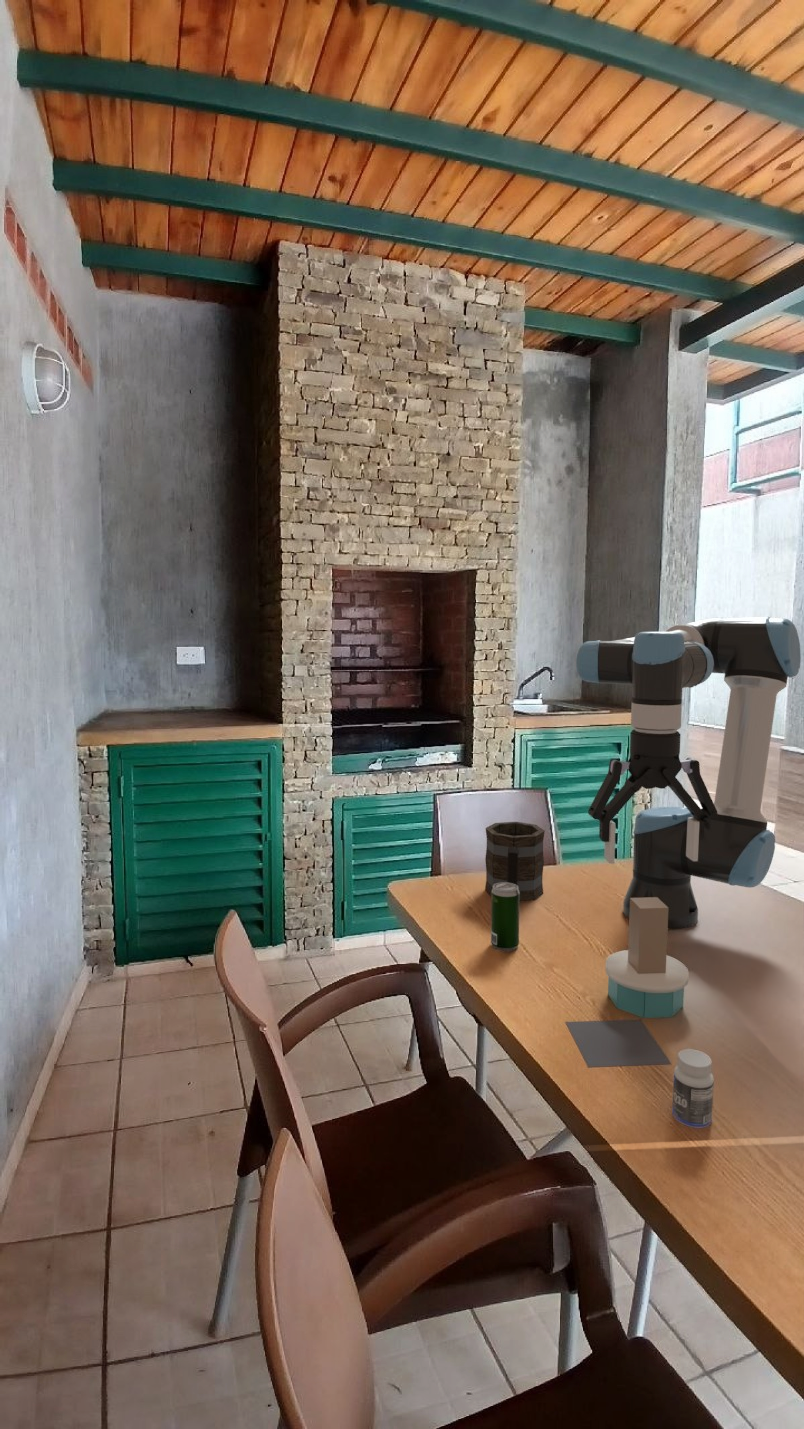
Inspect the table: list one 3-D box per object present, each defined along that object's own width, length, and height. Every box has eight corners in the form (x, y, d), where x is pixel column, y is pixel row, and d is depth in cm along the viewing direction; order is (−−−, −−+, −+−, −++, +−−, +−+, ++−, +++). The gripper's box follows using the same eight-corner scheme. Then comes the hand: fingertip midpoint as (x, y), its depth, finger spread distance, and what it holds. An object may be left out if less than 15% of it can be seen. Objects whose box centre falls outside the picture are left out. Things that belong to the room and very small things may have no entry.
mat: (640, 1022, 119) (640, 1019, 119) (671, 1067, 107) (671, 1063, 107) (565, 1024, 118) (565, 1021, 118) (588, 1070, 106) (588, 1067, 106)
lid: (668, 955, 131) (671, 887, 130) (702, 991, 118) (706, 917, 117) (595, 957, 130) (597, 889, 129) (621, 994, 118) (623, 919, 116)
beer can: (503, 954, 143) (504, 893, 141) (485, 944, 147) (485, 885, 146) (524, 947, 146) (525, 888, 144) (506, 938, 150) (506, 880, 149)
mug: (486, 880, 184) (487, 820, 182) (543, 883, 181) (544, 822, 179) (480, 911, 164) (481, 844, 163) (543, 915, 162) (545, 847, 160)
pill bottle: (665, 1108, 98) (668, 1047, 97) (700, 1106, 98) (703, 1045, 97) (682, 1132, 93) (685, 1069, 92) (718, 1130, 94) (722, 1067, 93)
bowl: (664, 985, 131) (665, 958, 130) (691, 1018, 120) (693, 989, 119) (601, 987, 130) (602, 959, 129) (623, 1021, 119) (624, 991, 119)
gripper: (721, 725, 124) (715, 850, 126) (570, 727, 122) (568, 854, 125) (744, 732, 116) (737, 865, 119) (584, 734, 115) (581, 869, 118)
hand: (650, 859), depth 122 cm, fingers open, 13 cm apart
